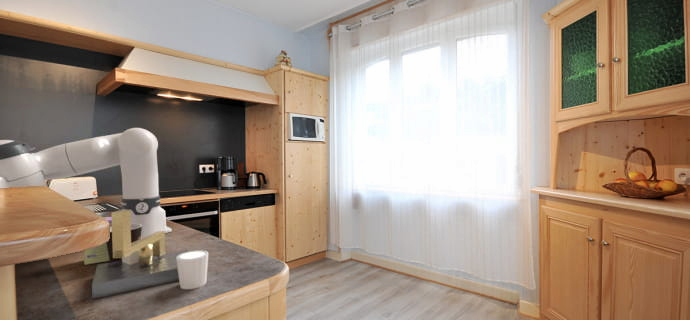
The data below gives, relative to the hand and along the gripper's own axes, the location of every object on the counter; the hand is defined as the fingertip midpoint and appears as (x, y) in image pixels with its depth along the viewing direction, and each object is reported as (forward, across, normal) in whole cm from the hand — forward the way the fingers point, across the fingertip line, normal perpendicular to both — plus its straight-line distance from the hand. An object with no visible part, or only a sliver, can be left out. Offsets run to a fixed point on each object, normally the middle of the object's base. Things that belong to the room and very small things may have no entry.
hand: (67, 231), depth 64 cm
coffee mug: (+10, -22, -15) cm, 29 cm away
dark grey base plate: (+14, -7, -15) cm, 21 cm away
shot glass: (+22, +4, -15) cm, 27 cm away
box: (+5, -28, -15) cm, 32 cm away
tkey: (+13, -6, -12) cm, 18 cm away
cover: (+11, -12, -12) cm, 20 cm away
